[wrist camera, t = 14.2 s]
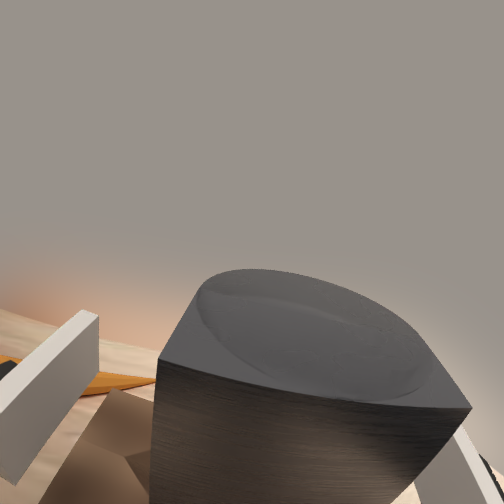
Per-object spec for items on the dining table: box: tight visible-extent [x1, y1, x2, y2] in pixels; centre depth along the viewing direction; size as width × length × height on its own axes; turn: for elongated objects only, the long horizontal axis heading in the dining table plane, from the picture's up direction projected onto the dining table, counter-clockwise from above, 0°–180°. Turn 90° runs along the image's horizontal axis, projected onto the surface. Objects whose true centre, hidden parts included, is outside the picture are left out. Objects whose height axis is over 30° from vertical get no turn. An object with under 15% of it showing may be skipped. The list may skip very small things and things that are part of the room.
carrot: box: [0, 355, 156, 395], centre depth 18 cm, size 20×4×4 cm, turn 125°
